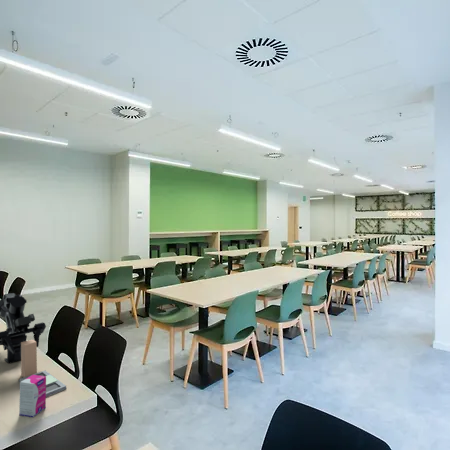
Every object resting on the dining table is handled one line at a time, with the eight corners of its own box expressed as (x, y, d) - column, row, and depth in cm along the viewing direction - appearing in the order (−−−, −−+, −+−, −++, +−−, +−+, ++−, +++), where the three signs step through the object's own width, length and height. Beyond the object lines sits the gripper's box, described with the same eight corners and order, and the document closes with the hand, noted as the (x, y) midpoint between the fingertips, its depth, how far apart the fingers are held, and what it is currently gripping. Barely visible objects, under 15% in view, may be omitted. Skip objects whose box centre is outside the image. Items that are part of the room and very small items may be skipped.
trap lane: (19, 382, 130) (19, 378, 130) (45, 373, 138) (45, 369, 138) (38, 399, 117) (38, 396, 117) (66, 388, 124) (66, 385, 124)
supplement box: (33, 418, 106) (33, 384, 106) (18, 415, 107) (18, 382, 107) (46, 408, 112) (46, 375, 112) (32, 406, 113) (32, 374, 113)
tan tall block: (21, 374, 136) (21, 342, 136) (32, 371, 139) (32, 339, 139) (25, 378, 133) (24, 345, 133) (36, 374, 137) (36, 341, 136)
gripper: (-4, 313, 134) (4, 346, 127) (44, 304, 148) (54, 333, 141) (-9, 328, 139) (-1, 360, 132) (38, 318, 153) (47, 346, 146)
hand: (26, 349), depth 138 cm, fingers open, 9 cm apart
